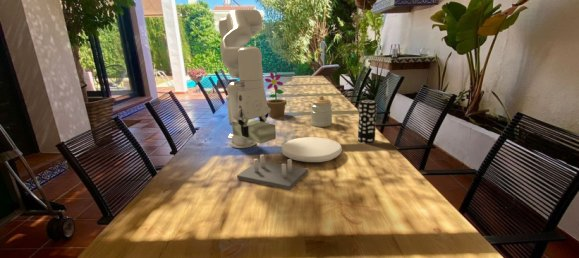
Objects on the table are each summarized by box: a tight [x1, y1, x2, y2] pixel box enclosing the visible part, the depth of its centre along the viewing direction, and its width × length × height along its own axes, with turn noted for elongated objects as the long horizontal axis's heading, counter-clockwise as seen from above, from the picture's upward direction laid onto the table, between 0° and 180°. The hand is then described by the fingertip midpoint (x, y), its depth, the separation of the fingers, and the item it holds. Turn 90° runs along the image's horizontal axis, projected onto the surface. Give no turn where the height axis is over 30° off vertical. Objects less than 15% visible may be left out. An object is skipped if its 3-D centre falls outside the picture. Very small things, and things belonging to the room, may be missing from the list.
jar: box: [310, 95, 333, 128], centre depth 182 cm, size 13×13×18 cm
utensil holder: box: [225, 94, 232, 125], centre depth 192 cm, size 15×15×18 cm
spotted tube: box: [357, 99, 378, 144], centre depth 149 cm, size 8×8×20 cm
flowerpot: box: [264, 72, 288, 119], centre depth 203 cm, size 14×14×30 cm
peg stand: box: [236, 154, 309, 191], centre depth 115 cm, size 22×16×6 cm
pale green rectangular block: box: [231, 118, 277, 145], centre depth 109 cm, size 16×7×5 cm, turn 45°
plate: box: [281, 136, 343, 163], centre depth 135 cm, size 28×6×27 cm
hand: (253, 133), depth 109 cm, fingers closed on pale green rectangular block, 7 cm apart
